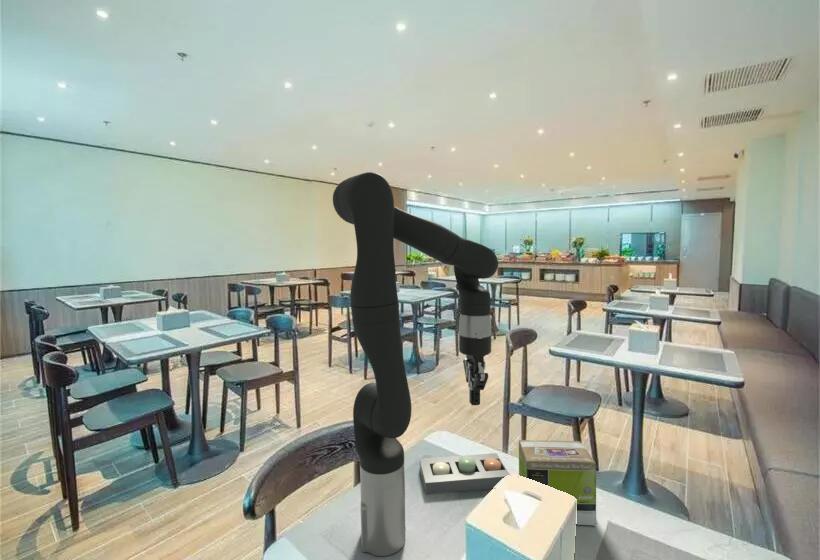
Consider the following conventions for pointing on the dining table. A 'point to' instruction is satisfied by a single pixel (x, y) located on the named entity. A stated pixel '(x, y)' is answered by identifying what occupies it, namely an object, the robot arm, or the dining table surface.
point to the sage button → (466, 465)
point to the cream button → (440, 468)
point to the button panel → (460, 475)
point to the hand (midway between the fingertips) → (474, 404)
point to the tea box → (562, 471)
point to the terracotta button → (492, 464)
